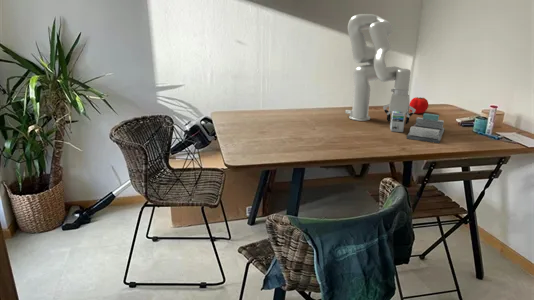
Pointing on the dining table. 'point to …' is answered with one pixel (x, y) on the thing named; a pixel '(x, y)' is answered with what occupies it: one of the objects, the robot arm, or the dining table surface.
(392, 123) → the light bulb box
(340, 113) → the dining table surface
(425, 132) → the base
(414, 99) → the tomato
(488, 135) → the dining table surface
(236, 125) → the dining table surface
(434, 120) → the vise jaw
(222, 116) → the dining table surface
